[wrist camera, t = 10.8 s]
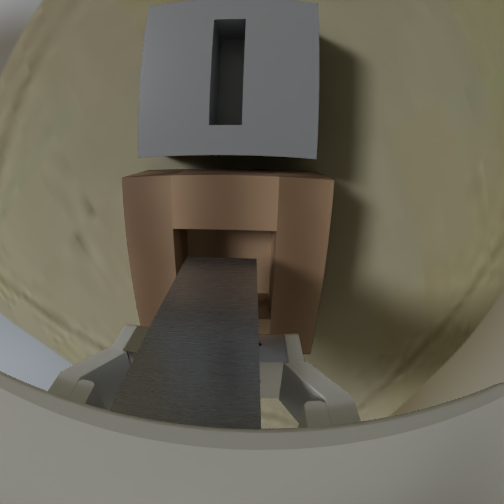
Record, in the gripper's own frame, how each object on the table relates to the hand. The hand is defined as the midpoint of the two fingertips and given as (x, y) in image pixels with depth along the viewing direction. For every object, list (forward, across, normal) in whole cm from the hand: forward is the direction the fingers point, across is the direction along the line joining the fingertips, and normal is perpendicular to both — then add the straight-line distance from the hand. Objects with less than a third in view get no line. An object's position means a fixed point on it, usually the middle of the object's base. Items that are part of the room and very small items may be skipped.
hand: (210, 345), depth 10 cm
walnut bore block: (+10, 0, 0) cm, 10 cm away
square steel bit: (+5, 0, 0) cm, 5 cm away
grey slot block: (+10, 0, -11) cm, 15 cm away
